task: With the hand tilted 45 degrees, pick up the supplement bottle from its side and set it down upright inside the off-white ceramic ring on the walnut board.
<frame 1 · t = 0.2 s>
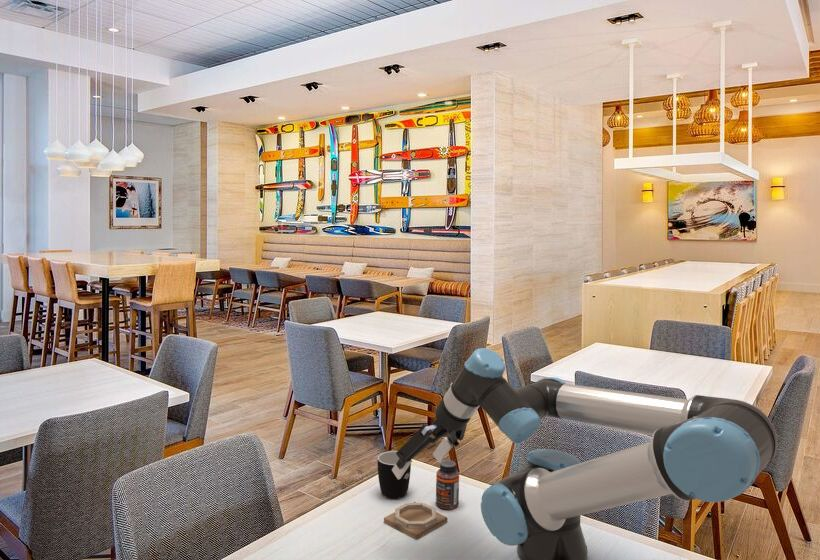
hand: (417, 466, 138), 16 cm above the table, tool tilted 35°, fingers open, 13 cm apart
mug: (395, 491, 159), on the table
socket board: (415, 522, 143), on the table
supplement bottle: (447, 505, 151), on the table
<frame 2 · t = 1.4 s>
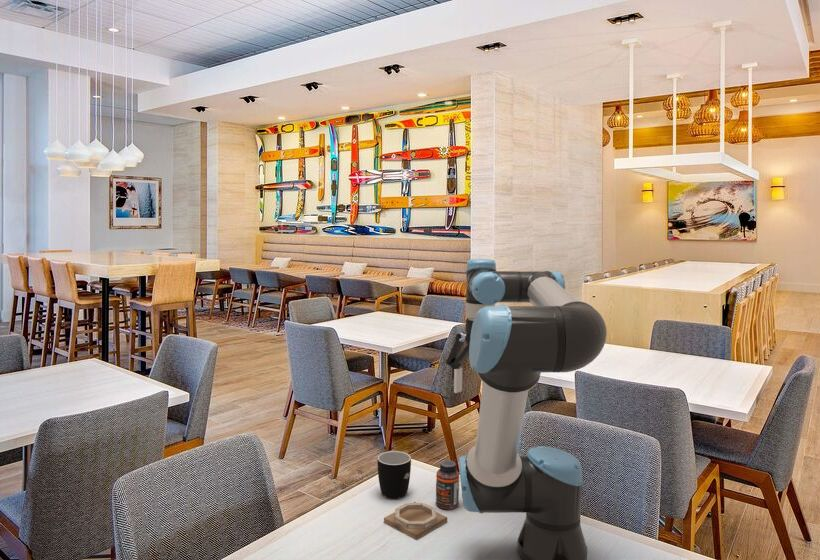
hand: (478, 397, 154), 27 cm above the table, tool pointing down, fingers open, 13 cm apart
nothing on the table moved.
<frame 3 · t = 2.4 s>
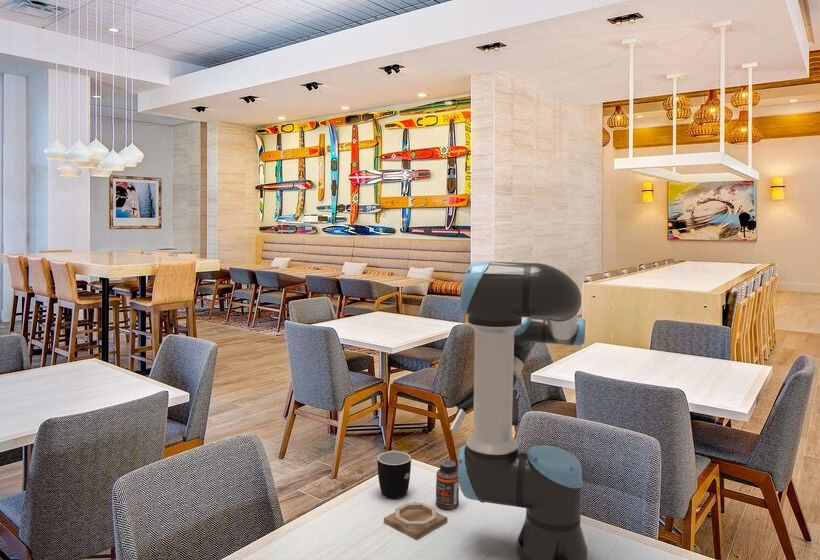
hand: (472, 438, 157), 15 cm above the table, tool tilted 45°, fingers open, 13 cm apart
nothing on the table moved.
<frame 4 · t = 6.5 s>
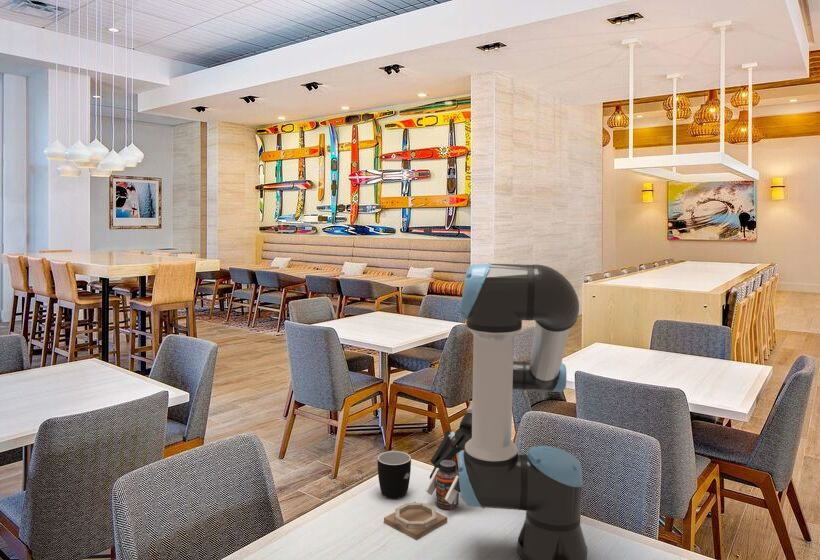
hand: (438, 497, 148), 3 cm above the table, tool tilted 45°, fingers closed on supplement bottle, 6 cm apart
supplement bottle: (447, 505, 151), on the table, touching gripper
everything else where it was.
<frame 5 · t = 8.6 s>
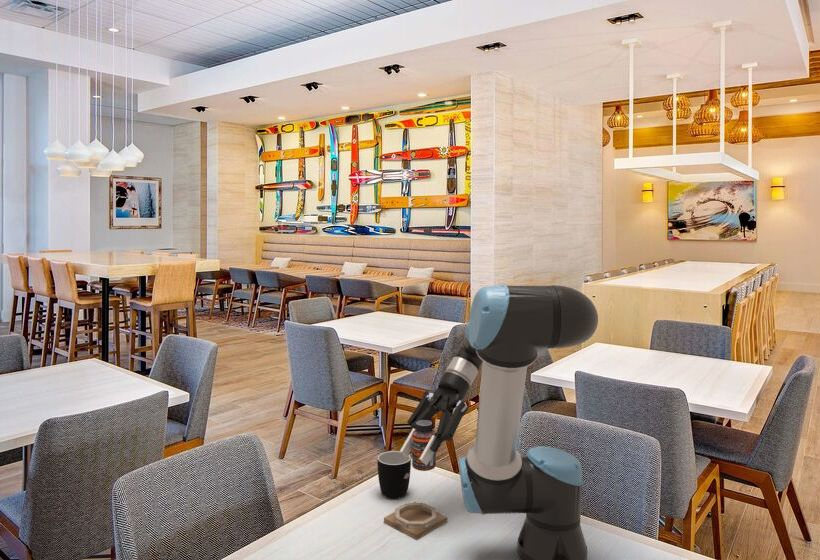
hand: (413, 457, 141), 16 cm above the table, tool tilted 45°, fingers closed on supplement bottle, 6 cm apart
supplement bottle: (423, 467, 144), point 13 cm above the table, touching gripper
everything else where it was.
when the fingers open (6 cm above the table, at t = 11.2 s): supplement bottle drops 1 cm, resting on socket board.
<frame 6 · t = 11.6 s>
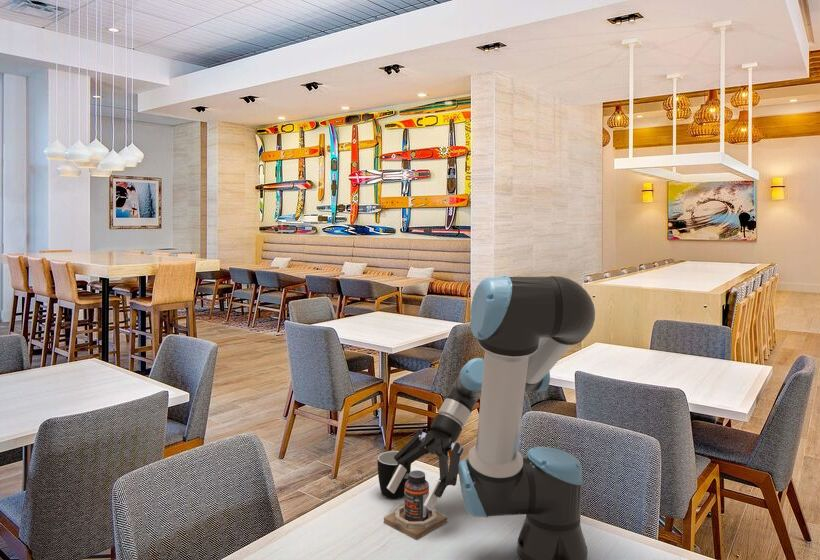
hand: (408, 499, 140), 7 cm above the table, tool tilted 45°, fingers open, 11 cm apart
supplement bottle: (416, 518, 142), point 1 cm above the table, touching socket board
everything else where it was.
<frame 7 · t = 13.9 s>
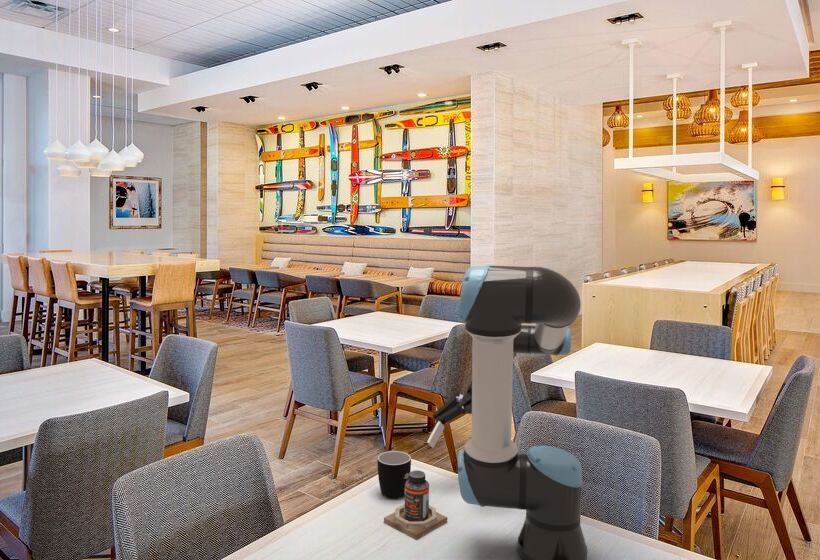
hand: (449, 451, 151), 14 cm above the table, tool tilted 45°, fingers open, 13 cm apart
nothing on the table moved.
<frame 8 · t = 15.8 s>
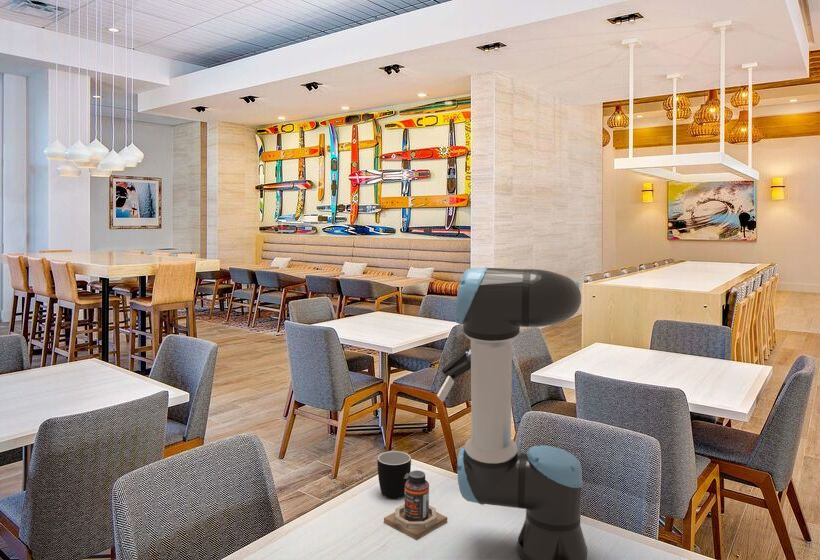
hand: (459, 404, 152), 26 cm above the table, tool tilted 45°, fingers open, 13 cm apart
nothing on the table moved.
at the end: supplement bottle 0.2 cm off-centre on the socket board, point 1.0 cm above the socket board's base; supplement bottle tilted 0°; the gripper is holding nothing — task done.
